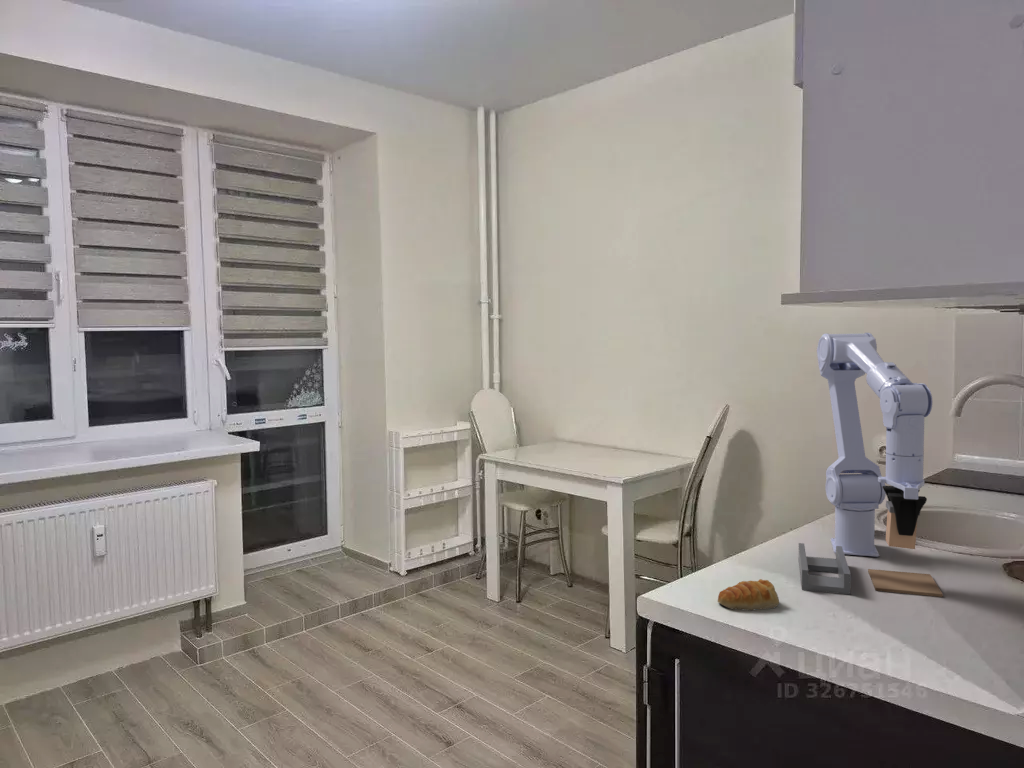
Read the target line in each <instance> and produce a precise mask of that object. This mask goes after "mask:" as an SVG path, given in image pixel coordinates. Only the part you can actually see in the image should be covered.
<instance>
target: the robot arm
mask: <svg viewBox="0 0 1024 768" xmlns="http://www.w3.org/2000/svg"><path fill="white" fill-rule="evenodd" d="M877 345H878V344H877V339H876V337H874V335H873V334H872V333H871V332H864V333H863V332H861V333H823V334H822V335H821V336H820V338H819V340H818V342H817V348H816V356H817V362H818V369H819V373H820V374H819V375H820V377H823V378H824V379H826V380H827V384H828V390H829V398H830V404H831V406H830V407H831V414H832V420H833V425H834V426H833V427H834V433H835V442H836V448H837V455H838V456H837V457H838V458H837V459H836V460H835V461H834V462H832V463H831V464H830V465H829V466H828V467H827V469H826V471H825V477H826V478H825V479H826V480H825V494H826V498H827V500H828V501H829V502H830V504H832V505H833V506H834V507H835V508H834V521H835V522H834V538H833V537H831V538H830V543H831V547H832V550H833V553H834V554H836V546H842V549H843V552H844V555H849V556H850V555H852V556H862V557H863V556H864V557H875V558H877V557H879V556H880V554H879V551H878V549H877V548H876V545H875V527H876V526H875V524H876V520H875V519H876V510H878V509H879V507H880V506H879V505H882V504H883V502H884V500H885V499H886V497H887V501H891V502H892V505H893V508H894V512H895V517H896V525H897V530H898V533H899V535H907V536H913V533H914V530H915V527H916V523H917V524H918V518H919V517H920V516H919V513H920V514H921V511H922V509H923V507H924V506H925V504H926V503H927V500H928V499H927V497H926V496H922V495H921V496H920V495H919V493H920V490H921V488H923V487H924V486H925V479H924V454H925V453H924V451H925V447H924V446H925V418H926V417H928V416H929V415H930V414H931V411H932V408H933V395H932V393H931V390H930V388H929V387H928V385H927V384H926V383H921V382H920V383H918V382H912V381H911V380H910V379H909V378H908V377H907V375H905V373H903V371H901V369H900V368H899V367H898V366H897V364H895V362H893V361H889V362H888V361H884V360H883V358H882V357H881V356H880V354H879V353H878V350H877V349H878V346H877ZM865 374H866V379H865V380H866V383H867V385H868V386H869V388H870V389H871V390H872V391H873V393H874V394H875V395H876V396H877V397H878V398H879V406H880V411H881V413H882V424H883V426H884V427H885V428H886V431H885V437H886V438H885V476H883V475H882V472H881V469H880V466H879V465H878V464H877V463H875V462H874V461H872V460H870V459H869V458H868V457H867V456H866V453H865V445H864V438H863V431H862V425H861V417H860V410H859V404H858V397H857V391H856V384H855V382H856V380H857V379H858V378H860V377H863V376H865ZM886 484H887V485H886Z"/></svg>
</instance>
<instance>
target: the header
mask: <svg viewBox="0 0 1024 768" xmlns="http://www.w3.org/2000/svg"><path fill="white" fill-rule="evenodd" d="M797 558H798V568H799V577H800V586H801V590H802V591H811V592H823V593H833V594H843V595H851V581H852V580H851V578H852V577H851V576H852V574H851V571H850V568H849V565H848V561H847V559H846V558H847V557H846V554H844V552H843V549H842V546H836V553H835V558H831V557H819V556H807V552H806V546H805V543H803V542H802V543H801V542H798V557H797ZM809 571H813V572H825V573H833V574H835V573H836V574H838V577H837V576H827V575H826V576H825V575H814V574H809Z"/></svg>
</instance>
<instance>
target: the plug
mask: <svg viewBox="0 0 1024 768" xmlns="http://www.w3.org/2000/svg"><path fill="white" fill-rule="evenodd" d="M885 508H886V509H887V515H886V529H885V541H886V543H887V545H888V547H890V548H891V547H892V548H893V547H894V548H901V549H909V550H916V545H917V544H916V542H917V531H918V530H917V529H918V522H917V523H916V527H915V530H914V533H913V536H907V535H899V533H898V530H897V525H896V517H895V512H894V508H893V505H892V502H891V501H888V500H886V501H885ZM920 516H921V512H920V513H919V516H918V517H920Z"/></svg>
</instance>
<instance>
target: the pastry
mask: <svg viewBox="0 0 1024 768" xmlns="http://www.w3.org/2000/svg"><path fill="white" fill-rule="evenodd" d="M717 603H718V604H720V605H722V606H724V607H726V608H728V609H732V610H742V609H744V611H754V609H759V610H769V608H771V609H775V608H774V607H776V608H777V607H778V606H779V604H780V599H779V596H778V593H777V592H776V588H775V586H774V585H773V583H772V582H770V580H768V579H763V578H760V579H758V580H748V581H746V580H743V581H739V582H738V583H737V584H735V585H733V586H728V587H727V588H725V589H723V590H721V591H719V592H718V597H717Z"/></svg>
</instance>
